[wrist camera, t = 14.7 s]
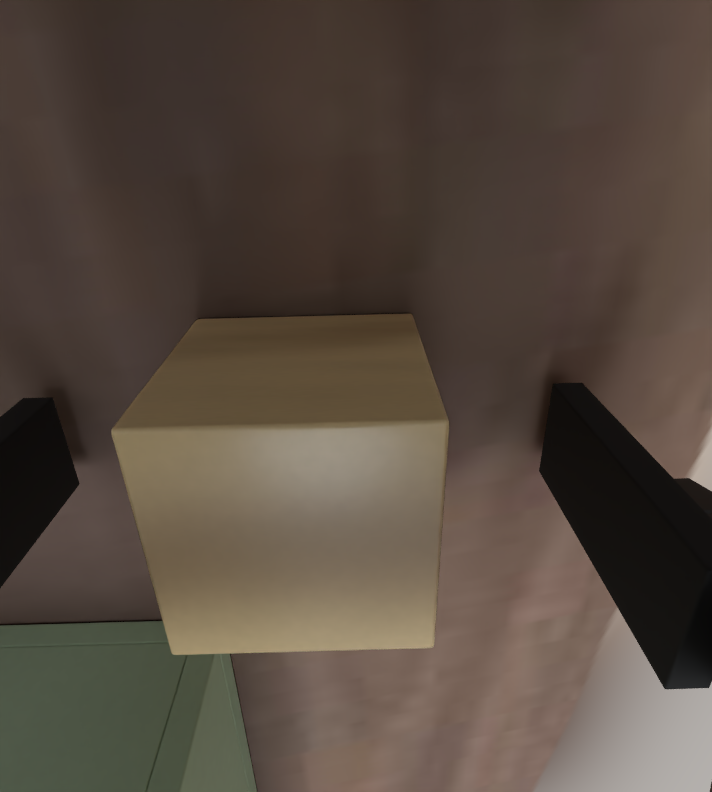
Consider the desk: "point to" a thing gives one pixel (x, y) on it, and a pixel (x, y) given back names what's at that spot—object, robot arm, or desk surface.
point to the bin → (117, 712)
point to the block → (291, 485)
